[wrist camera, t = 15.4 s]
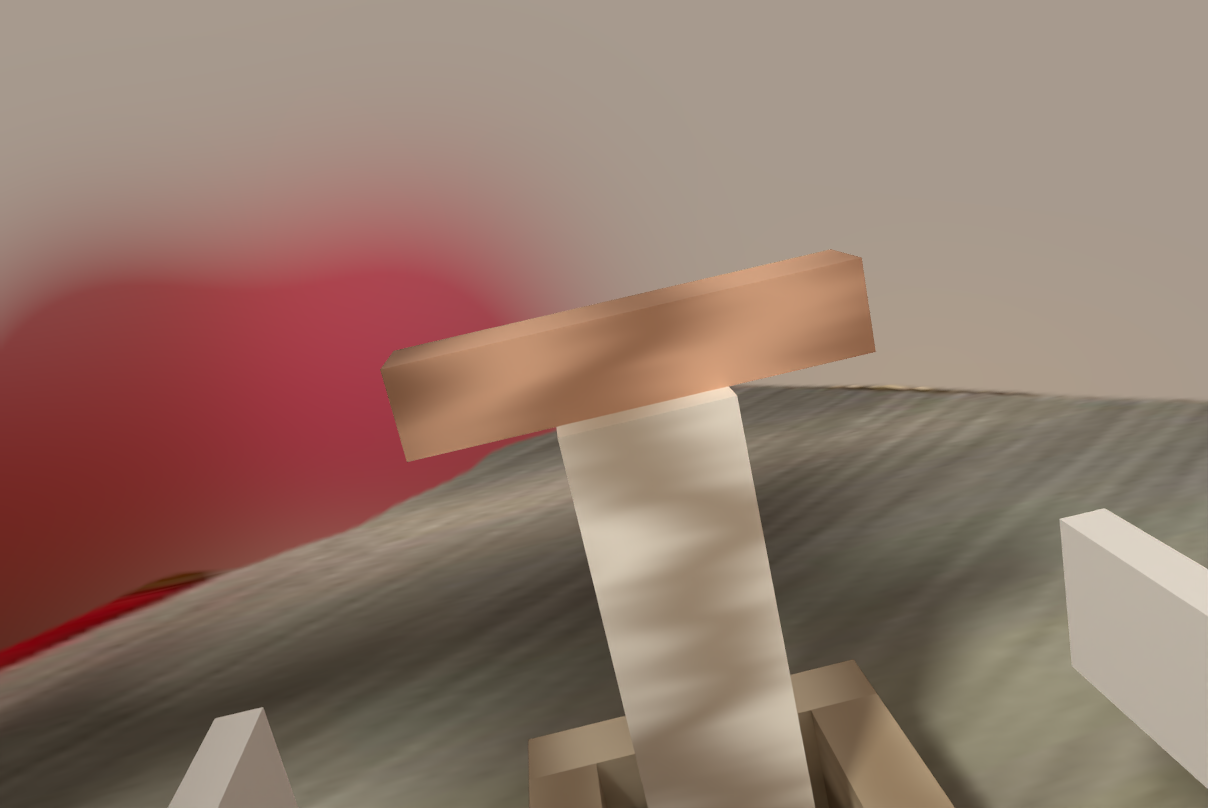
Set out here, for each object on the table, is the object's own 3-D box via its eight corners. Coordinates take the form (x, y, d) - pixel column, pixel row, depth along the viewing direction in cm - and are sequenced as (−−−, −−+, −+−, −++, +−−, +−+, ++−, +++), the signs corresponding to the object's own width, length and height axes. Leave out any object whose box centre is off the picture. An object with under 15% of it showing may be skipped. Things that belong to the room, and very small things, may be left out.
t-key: (564, 1029, 27) (374, 378, 22) (558, 911, 31) (398, 344, 26) (972, 927, 27) (876, 261, 22) (912, 824, 31) (819, 246, 26)
